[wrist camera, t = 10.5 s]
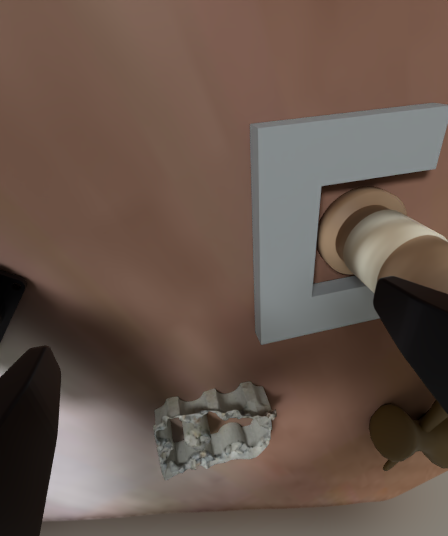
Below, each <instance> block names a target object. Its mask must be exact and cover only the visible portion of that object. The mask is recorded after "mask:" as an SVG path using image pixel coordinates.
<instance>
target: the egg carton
mask: <svg viewBox="0 0 448 536" xmlns="http://www.w3.org/2000/svg"><path fill="white" fill-rule="evenodd" d="M154 411H155V424H156V425H154V426H153V429H154V435H155V440H156V444H157V451H158V456H159V461H160V466H161V471H162V474H163V477H164V480H168V479H170V478H172V477H173V476H175V475H177V474H179V473H183V472H184V471H185V470H187V469H194V470H196V469H197V466H199V465H201V466H203V467H204V468H206V469H208V468H209V467H211V466H213V465H215V464H218V463H225V462H227V461H229V460H232V459H252V458H255V457H257V456H258V455H259V454H260V453H261V452H262V451H263V450H264V449H265V448H266V447H267V445H268V444H269V440H270V439H271V438H270V431H271V430H272V424H271V419H273V420H274V418H275V417H276V416H277V415H276V410H274V411H272V410H271V407H270V404H269V402H268V399H267V396H266V394H265V391H264V388H263V387H260V386H255V385H253V384H252V382H244V383H240V385H239V387H238V388H237V389H236V390H235V391H233V392H231V393H228V394H221V393H219V392H217V391H216V389H211V390H208V391H205V392H203V395H202V396H201V397H200V398H199V399H197V400H195V401H191V402H185V401H182V400H180V399H179V397H171V398H168V399H166V402H165V404H164V405H163V406H162V407H160V408H158V409H156V410H154ZM208 411H211V412H214V413H216V414H217V415H218V416H219V417H220V418H221V419H223V420H224V421H226V420H228V419H229V418H237V419H240V418H252V419H253V421H252V422H251V425H248V426H244V427H241V426H240V424H238V423H235V422H231V423H227V424H225V425H223V426H222V427H221V428H220V429H219V431H218V433H215V434H210V429H209V425H208V420H207V416H206V414H207V413H208ZM173 418H179V419H180V421H182V426H183V433H184V441H181V442H176V443H174V441H173V440H172V431H171V423H170V420H169V419H173Z"/></svg>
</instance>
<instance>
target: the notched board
mask: <svg viewBox="0 0 448 536" xmlns="http://www.w3.org/2000/svg"><path fill="white" fill-rule="evenodd" d="M447 123H448V105H446V104H439V103H428V104H419V105H410V106H402V107H393V108H384V109H376V110H367V111H358V112H350V113H341V114H332V115H324V116H315V117H306V118H298V119H289V120H280V121H272V122H263V123H254V124H250V150H251V188H252V226H253V263H254V301H255V333H256V335H257V337H258V339H259V341H260V343H261V345H263V344H267V343H272V342H276V341H280V340H285V339H289V338H294V337H298V336H303V335H307V334H312V333H316V332H321V331H325V330H330V329H334V328H338V327H343V326H347V325H352V324H356V323H361V322H365V321H370V320H374V319H379V318H380V317H379V316H378V314H377V312H376V311H375V309H374V306H373V298H374V293H373V292H372V291H371V290H370V289H369V288H368V287H367V286H366V285H365V284H364V283H363V282H362V281H361V280H360V279H359V278H357V277H356V276H351V277H346V278H341V279H336V280H331V281H326V282H321V283H316V284H313V277H314V265H315V254H316V242H317V231H318V219H319V208H320V196H321V186H325V185H332V184H339V183H345V182H352V181H358V180H365V179H372V178H378V177H385V176H392V175H398V174H405V173H411V172H418V171H425V170H431V169H436V165H437V161H438V157H439V154H440V150H441V146H442V142H443V139H444V135H445V131H446V127H447Z"/></svg>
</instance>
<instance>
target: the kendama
mask: <svg viewBox="0 0 448 536" xmlns="http://www.w3.org/2000/svg"><path fill="white" fill-rule="evenodd" d="M369 430H370V436H371V439H372V441H373V443H374V445H375V447H376V449H377V450H378V451H379V452H380V453H381V455H382V456H384V457H385V458H387V459H388V461H387V462H386V463H385V465H384V467H383V470H384V471H388V470H389V469H391V468H392V467H393V466H394V465H396V464H397V463H398V462H399V461H404V460H405V459H407V458H408V457H410V456H411V455H413V454H414V453H415V452H416V451H422V452H423V454H424V455H425V456H426V457H427V458H428V459H429V460H430V461H431V462H432V463H434V464H435V465H437V466H439V467H441V468H448V415H447V413H446V412H445V411H444V409H443V408H442V407H441V405H440V404H439V403H438V401H437V400H436V401H435V402H434V404H433V405H432V407H431V408H430V410H429V411H428V412H427V413H426V414H425V415H424V416H422V417H421V418H420V419H419V420H418V421H417V420H412V419H411V418H410V417H409V415H407V414H406V413H405V412H404V411H403V410H402V409H401V408H400V407H397V406H395V405H392V404H388V405H383V406H381V407H380V408H379V409H378V410H377V411H376V412H375V413H374V414H373V416H372V417H371V420H370V425H369Z"/></svg>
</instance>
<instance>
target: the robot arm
mask: <svg viewBox="0 0 448 536" xmlns="http://www.w3.org/2000/svg"><path fill="white" fill-rule="evenodd" d="M13 283H18V284H20V286H19V287H18V286H15V285H14V284H13ZM26 286H27V282H26V280H25V279H24V278H22V277H20V276H17V275H14V274H11V273H8V272H5V271H2V270H0V342H1V340H2V338H3V335H4V333H5V331H6V329H7V327H8V325H9V323H10V320H11V318H12V316H13V314H14V312H15V310H16V308H17V305H18V303H19V301H20V299H21V297H22V295H23V293H24V291H25V288H26ZM373 306H374V309H375V311H376V312H377V314H378V316H379V317H380V319H381V321H382V322H383V324H384V326H385V327H386V329H387V331H388V332H389V334H390V336H391V337H392V339H393V340H394V342H395V344H396V345H397V347H398V349H399V350H400V352H401V353H402V354H403V356H404V357H405V359H406V360H407V361H408V363H409V364H410V365H411V367H412V368H413V369H414V371H415V372H416V373H417V375H418V376H419V377H420V379H421V380H422V381H423V383H424V384H425V385H426V387H427V388H428V389H429V391H430V392H431V393H432V395H433V396H434V397H435V399H436V400H437V401H438V403H439V404H440V405H441V407H442V408H443V409H444V411H445V412H446V413H447V415H448V294H447V293H444V292H441V291H438V290H435V289H432V288H429V287H426V286H423V285H420V284H417V283H414V282H411V281H408V280H405V279H402V278H399V277H396V276H387V277H382V278H380V279H378V281H377V283H376V288H375V293H374V298H373ZM60 387H61V371H60V368H59V365H58V363H57V361H56V359H55V357H54V355H53V353H52V351H51V349H50V347H49V346H46V345H44V346H39V347H34V348H31V349H29V350H28V351H26V352H25V353H24V354H23V355H22V356H21V357H20V358H19V359H18V360H17V361H16V362H15V363H14V364H13V365H12V366H11V367H10V368H9V369H8V370H7V371H6V372H5V373H4V374H3V375H2V376H1V377H0V536H39V535H40V530H41V524H42V519H43V513H44V508H45V502H46V497H47V491H48V486H49V480H50V474H51V469H52V463H53V458H54V452H55V447H56V440H57V433H58V420H59V403H60Z"/></svg>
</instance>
